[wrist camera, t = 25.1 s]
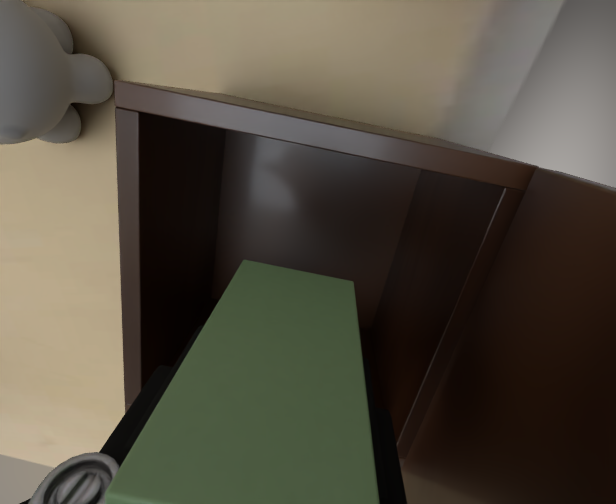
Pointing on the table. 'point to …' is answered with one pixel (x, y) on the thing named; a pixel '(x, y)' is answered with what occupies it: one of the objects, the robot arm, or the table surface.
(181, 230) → the chest
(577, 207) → the lid
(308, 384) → the green block
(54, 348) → the table surface
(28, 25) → the chubby cartoon animal
